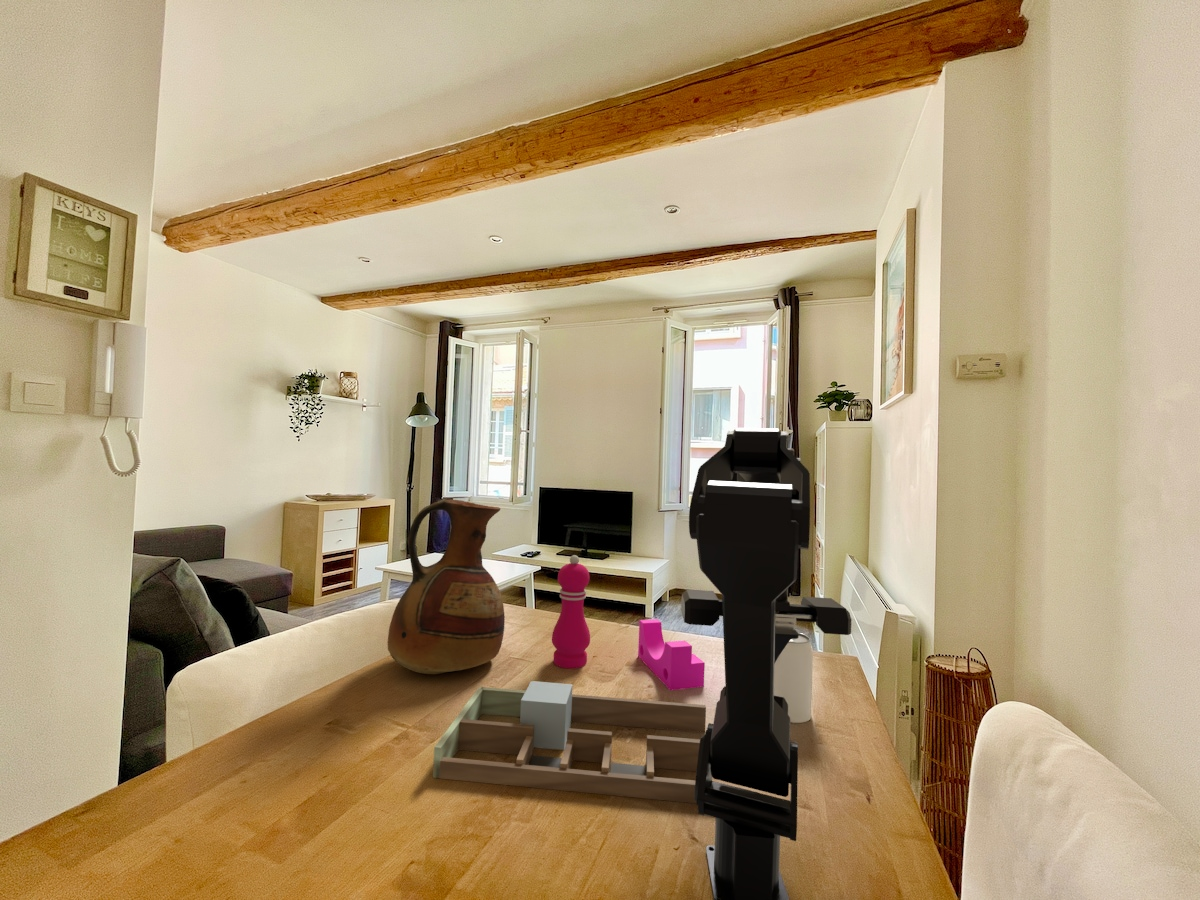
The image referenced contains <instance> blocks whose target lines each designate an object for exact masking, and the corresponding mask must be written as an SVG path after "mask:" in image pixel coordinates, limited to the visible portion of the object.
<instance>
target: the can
mask: <svg viewBox="0 0 1200 900" xmlns="http://www.w3.org/2000/svg"><path fill="white" fill-rule="evenodd" d="M798 633H799V638H798V639H790V641H789V642H788V644H787V645H786V646H785V648H784V649H783V651H782V652H781V654H780V655H779V657H778V658H777V660H776V662H775V664H774V696H779V697H784V698H785V700H786V702H787V704H788V715H789V717H790V723H792V724H801V723H805V722H809V720H811V719H812V706H813V705H812V703H813V702H812V700H813V668H814V667H813V666H814V664H813V662H814V651H813V647H812V644H811V638H810V637H809V636H808V635H806V634H805V633H801V632H798Z"/></svg>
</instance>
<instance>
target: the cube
mask: <svg viewBox="0 0 1200 900" xmlns="http://www.w3.org/2000/svg"><path fill="white" fill-rule="evenodd" d="M528 684H529V685H528V687H527V688H526V690H525V691H526V692H525V694H524V696H523V697H522V699H521V712H520V717H519V718H520V719H519V724H526V725H534V746H533V748H538V749H548V750H561V751H564V749H565V745H566V742H567V731H568V728H571V727H572V721H571V710H572V694H573V684H572V683H561V682H546V681H534V680H530V682H529V683H528Z"/></svg>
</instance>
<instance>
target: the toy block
mask: <svg viewBox="0 0 1200 900" xmlns="http://www.w3.org/2000/svg"><path fill="white" fill-rule="evenodd" d="M637 648H638V650H637V652H638V653H637V655H638V656H637V657H638V658H639V659H640V660H641V661H642V662H643V663H644V664H645V666H646V667H648V669H649V670H651V671H652V673H653V674H654V675H655V676H656V677H657V678H658V679H659V681H661V682H662V684H663V685H664V686H665V687H666V688H667V689H668V690H669V691H677V690H685V689H696V688H704V687H705V661H703V660H702V659H701V658H699V657H698V656H697V655H696V654H695V653H693V645H692V644H691V643H689V642H687V641H686V640H674V641H664V635H663V630H662V621H660V620H659V619H658V618H654V619H639V621H638V647H637Z"/></svg>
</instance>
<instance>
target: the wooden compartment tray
mask: <svg viewBox="0 0 1200 900" xmlns="http://www.w3.org/2000/svg"><path fill="white" fill-rule="evenodd" d="M525 692H526V690H523V689H511V688H497V687H485V686H484V687H483V686H479V687H478V688H477V689H476V690H475V692H474V693H473V695H472V696H471V697H470V698H469V699H468V701H467V703H466V704H465V705H464V706H463V708H462V710H461V711H460V712H459V713H458V715H457V716H456V718H455V719H454V720H453V721H452V723H451V724H450V725H449V727H448V728H447V729H446V731H445V732H444V734H443V735H442V737H440V739H439V740H438V741H437V743H436V744H435V745H434V748H433V766H432V767H433V768H432V769H433V770H432V778H433V779H442V780H443V779H444V780H455V781H464V782H465V781H466V782H474V783H485V784H493V785H494V784H496V785H504V786H505V785H506V786H512V787H513V786H514V787H515V786H516V787H526V788H535V789H546V790H555V791H556V790H557V791H566V792H567V791H568V792H577V793H585V794H586V793H588V794H596V795H597V794H598V795H608V796H618V797H629V798H637V799H638V798H640V799H649V800H656V801H657V800H659V801H666V802H667V801H670V802H679V803H688V804H690V803H691V804H697V802H696V801H695V780H696V779H695V780H693V779H683V778H673V777H661V776H655V769H664V770H674V771H675V770H676V771H685V772H695V773H696V770H697V762H698V753H699V745H700V739H699V738H687V737H685V738H684V737H675V736H672V737H671V736H663V735H653V734H652V735H649V734H646V747H645V748H646V750H645V751H646V753H645V754H646V755H645V765H641V764H630V763H629V764H628V763H620V762H619V763H618V762H612V746H613V745H612V744H613V731H606V730H603V731H602V730H593V729H583V728H582V729H581V728H568V731H567V742H566V745H565V749H564V750H563V752H562V753H563V754H562V757H553V756H544V755H543V756H542V755H534V747H533V746H534V725H526V724H520V723H512V722H503V721H502V722H501V721H491V720H479V719H480V717H481V715H491V716H503V717H504V716H505V717H514V718H515V717H517V718H520V712H521V699H522V697H523V696H524V694H525ZM706 713H707V706H706V704H695V703H683V702H670V701H659V700H658V701H657V700H645V699H633V698H623V697H621V698H620V697H612V696H611V697H610V696H595V695H585V694H574V693H572V710H571V723H572V722H575V723H576V722H577V723H585V724H597V725H606V726H608V725H609V726H610V725H611V726H620V727H621V726H622V727H632V728H643V729H644V728H646V729H656V730H668V731H669V730H670V731H679V732H691V733H692V732H693V733H704V734H705V732H706V718H707V717H706V716H707V714H706ZM458 751H469V752H480V753H488V754H489V753H491V754H502V755H511V756H512V755H513V756H517V757H516V760H515V761H516V762H515V763H513V762H512V763H510V762H502V761H501V762H500V761H492V760H491V761H490V760H479V759H468V758H458V757H455V755H456V754H457V752H458ZM573 761H575V762H576V761H577V762H588V763H601V771H597V770H588V769H587V770H585V769H577V768H576V769H575V768H572V763H573Z"/></svg>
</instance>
